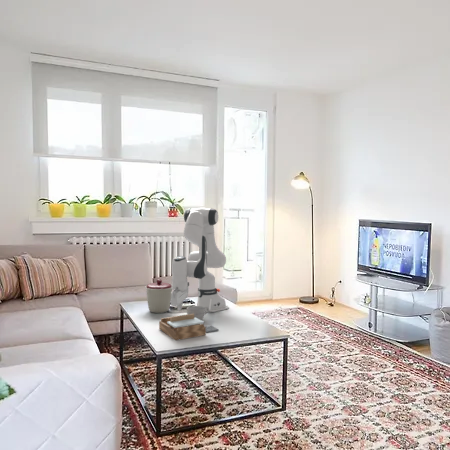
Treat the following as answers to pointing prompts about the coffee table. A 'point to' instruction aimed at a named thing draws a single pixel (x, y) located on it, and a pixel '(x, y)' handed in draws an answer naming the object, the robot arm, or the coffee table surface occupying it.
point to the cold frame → (181, 330)
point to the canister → (159, 296)
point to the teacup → (197, 311)
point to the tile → (211, 329)
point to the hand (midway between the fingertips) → (179, 309)
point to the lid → (184, 320)
